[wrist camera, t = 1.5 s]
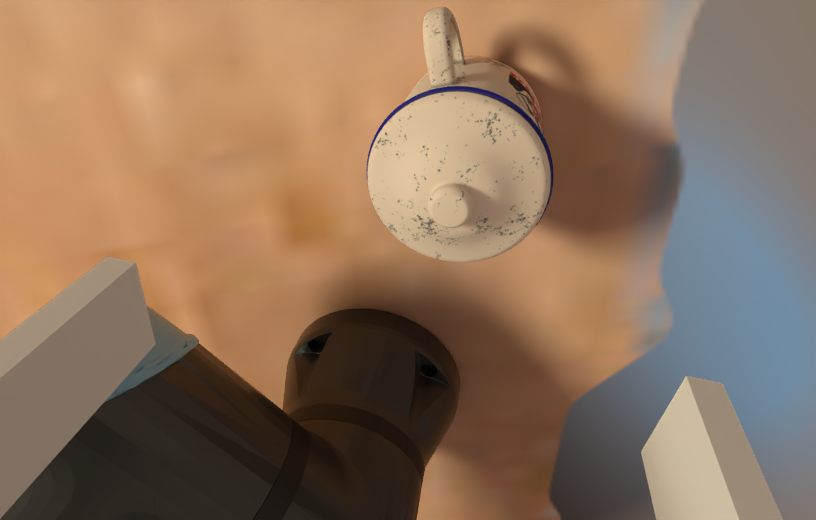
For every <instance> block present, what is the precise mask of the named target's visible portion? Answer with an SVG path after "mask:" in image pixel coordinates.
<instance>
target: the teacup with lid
mask: <svg viewBox="0 0 816 520" xmlns="http://www.w3.org/2000/svg"><path fill="white" fill-rule="evenodd" d="M423 42H424V51H425V57H426V63H427V68H428V72H427V73H426V74H425V75H424V76H423V77H422V78H421V79H420V80H419V81H418V82H417V84H416V85H415V86H414V88H413V89H412V91H411V92H410V94H409V95H408V96H407V98H406V99H405V101H404V102H403V103H402V104H401V105H400V106H398V107H397V108H396V109H395V110H394V111H393V112H392V113H391V114H390V115H389V116H388V117H387V118H386V119H385V121H384V122H383V123H382V125H381V126H380V128H379V129H378V131H377V133H376V135H375V137H374V139H373V142H372V144H371V147H370V151H369V155H368V161H367V181H368V188H369V192H370V197H371V200H372V203H373V205H374V208H375V210H376V212H377V214H378V215H379V217H380V219H381V220H382V222H383V223H384V225H385V226H386V227H387V228H388V229H389V231H390V232H391V233H392V234H393V235H394V236H395V237H396V238H397V239H399V240H400V241H401V242H402V243H404V244H405V245H406V246H408V247H409V248H411V249H413V250H415V251H416V252H418V253H421V254H423V255H425V256H428V257H431V258H434V259H438V260H442V261H448V262H474V261H480V260H485V259H488V258H491V257H494V256H497V255H499V254H502V253H504V252H506V251H508V250H509V249H511V248H513V247H514V246H516V245H517V244H518V243H520V242H521V241H522V240H523V239H524V238H525V237H526V236H527V235H528V234H529V233H530V232H531V231H532V230H533V229H534V227H535V226H536V225H537V224H538V222H539V221H540V219H541V218H542V216H543V214H544V212H545V210H546V208H547V205H548V203H549V200H550V196H551V192H552V187H553V165H552V158H551V154H550V150H549V148H548V145H547V142H546V140H545V138H544V133H543V125H542V116H541V110H540V106H539V103H538V100H537V98H536V96H535V93H534V91H533V90H532V88H531V87H530V85H529V84H528V83H527V81H526V80H525V79H524V78H523V77H522V76H521V75H520V74H519V73H518V72H517V71H515V70H514V69H513V68H511V67H510V66H508V65H506V64H504V63H502V62H500V61H497V60H495V59H491V58H487V57H481V56H465V57H464V53H463V48H462V42H461V38H460V33H459V29H458V26H457V23H456V20H455V17H454V15H453V14H452V12H451V11H450V10H449V9H448V8H446V7H439V8H435V9H432V10H430V11H428V12H427V13H426V15H425V17H424V21H423Z"/></svg>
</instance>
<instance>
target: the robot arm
mask: <svg viewBox="0 0 816 520" xmlns="http://www.w3.org/2000/svg"><path fill="white" fill-rule="evenodd" d="M459 389H460V379H459V374H458V370H457V367H456V364H455V362H454V360H453V358H452V357H451V355H450V354H449V352H448V351H447V349H446V348H445V347H444V346H443V345H442V343H441V342H440V341H439V340H438V339H436V338H435V337H434V336H433V335H432V334H431V333H429V332H428V331H427V330H425V329H424V328H422V327H421V326H419V325H417V324H415V323H413V322H411V321H409V320H407V319H405V318H402V317H400V316H397V315H394V314H391V313H387V312H383V311H377V310H370V309H349V310H342V311H337V312H334V313H330V314H328V315H325V316H323V317H321V318H319V319H318V320H316V321H314V322H313V323H312V324H311V325H309V326H308V327H307V328H306V329H305V331H304V332H303V333H302V335H301V336H300V338H299V340H298V342H297V344H296V346H295V347H294V349H293V351H292V353H291V355H290V358H289V361H288V365H287V372H286V381H285V391H284V401H283V410H281V409H280V408H279V407H278V406H276V405H275V404H274V403H273V402H271V401H270V400H269V399H268V398H266V397H265V396H264V395H263V394H261V393H260V392H259V391H258V390H256V389H255V388H254V387H253V386H252V385H250V384H249V383H248V382H247V381H245V380H244V379H243V378H242V377H240V376H239V375H238V374H237V373H235V372H234V371H233V370H232V369H230V368H229V367H228V366H227V365H225V364H224V363H223V362H222V361H220V360H219V359H218V358H217V357H215V356H214V355H213V354H212V353H210V352H209V351H208V350H207V349H205V348H204V347H203V346H202V345H200V344H199V340H198V339H197V338H196V337H195V336H194V335H192V334H186V333H184V332H183V331H182V330H180V329H179V328H178V327H176V326H175V325H173V324H172V323H171V322H169V321H168V320H166V319H165V318H164V317H162V316H161V315H160V314H158V313H157V312H155V311H154V310H153V309H151V308H150V307H148V306H146V302H145V298H144V294H143V290H142V286H141V281H140V277H139V273H138V269H137V265H136V262H131V261H127V260H122V259H117V258H112V257H106V258H105V259H103V260H102V261H101V262H100V263H98V264H97V265H96V266H94V267H93V268H92V269H91V270H89V271H88V272H87V273H86V274H84V275H83V276H82V277H80V278H79V279H78V280H77V281H75V282H74V283H73V284H71V285H70V286H69V287H68V288H66V289H65V290H64V291H62V292H61V293H60V294H59V295H57V296H56V297H55V298H54V299H52V300H51V301H50V302H48V303H47V304H46V305H45V306H43V307H42V308H41V309H39V310H38V311H37V312H36V313H34V314H33V315H32V316H30V317H29V318H28V319H27V320H25V321H24V322H23V323H22V324H20V325H19V326H18V327H16V328H15V329H14V330H13V331H11V332H10V333H9V334H7V335H6V336H5V337H4V338H2V339H1V340H0V520H416V519H417V513H418V507H419V501H420V494H421V487H422V482H423V476H424V471H425V467H426V465H427V464H428V462H429V460H430V459H431V457H432V455H433V454H434V452H435V450H436V449H437V447H438V445H439V443H440V442H441V440H442V438H443V437H444V435H445V433H446V432H447V430H448V428H449V426H450V425H451V423H452V421H453V419H454V416H455V413H456V410H457V404H458V397H459ZM641 455H642V459H643V463H644V467H645V472H646V476H647V481H648V485H649V490H650V494H651V499H652V503H653V507H654V512H655V516H656V520H783V519H782V517H781V514H780V512H779V510H778V508H777V505H776V503H775V501H774V499H773V496H772V494H771V492H770V490H769V487H768V485H767V483H766V481H765V478H764V476H763V474H762V472H761V469H760V467H759V465H758V463H757V460H756V458H755V456H754V453H753V451H752V449H751V447H750V445H749V442H748V440H747V438H746V435H745V433H744V431H743V429H742V427H741V424H740V422H739V420H738V418H737V415H736V413H735V411H734V408H733V406H732V404H731V401H730V399H729V397H728V395H727V392H726V390H725V388H724V386H723V384H722V383H718V382H714V381H708V380H704V379H699V378H694V377H689V376H686V377H685V379H684V381H683V382H682V384H681V386H680V387H679V389H678V391H677V392H676V394H675V396H674V397H673V399H672V401H671V402H670V404H669V406H668V407H667V409H666V411H665V413H664V414H663V416H662V418H661V419H660V421H659V423H658V424H657V426H656V428H655V429H654V431H653V433H652V434H651V436H650V438H649V439H648V441H647V443H646V445H645V446H644V448H643V450H642V451H641Z"/></svg>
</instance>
